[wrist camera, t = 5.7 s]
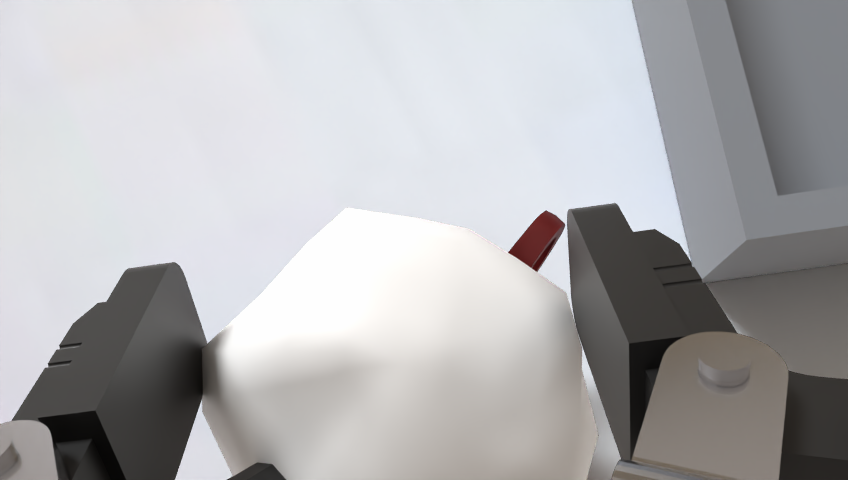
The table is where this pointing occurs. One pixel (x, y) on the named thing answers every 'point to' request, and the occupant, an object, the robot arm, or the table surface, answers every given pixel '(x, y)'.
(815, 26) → the dock tray
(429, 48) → the table surface
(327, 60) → the table surface
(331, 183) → the table surface
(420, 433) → the cocoa
